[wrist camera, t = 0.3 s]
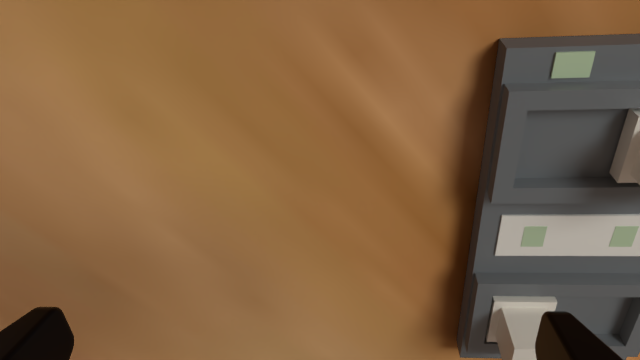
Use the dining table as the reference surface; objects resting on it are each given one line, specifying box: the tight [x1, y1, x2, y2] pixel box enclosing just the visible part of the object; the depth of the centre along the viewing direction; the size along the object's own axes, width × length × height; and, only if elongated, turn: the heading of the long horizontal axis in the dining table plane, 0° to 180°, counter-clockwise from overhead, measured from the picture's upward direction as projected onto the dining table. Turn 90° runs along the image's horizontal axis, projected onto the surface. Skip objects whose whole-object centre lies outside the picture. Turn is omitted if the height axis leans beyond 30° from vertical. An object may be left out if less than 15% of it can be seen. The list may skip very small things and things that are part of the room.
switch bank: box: [457, 34, 640, 360], centre depth 23 cm, size 18×9×2 cm, turn 3°
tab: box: [485, 296, 557, 360], centre depth 24 cm, size 3×3×3 cm
